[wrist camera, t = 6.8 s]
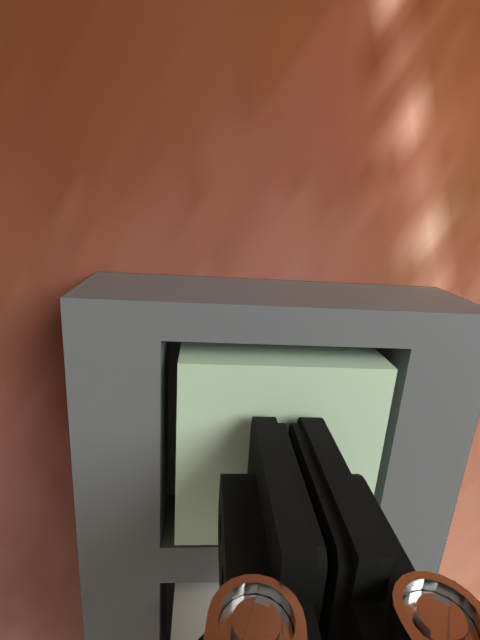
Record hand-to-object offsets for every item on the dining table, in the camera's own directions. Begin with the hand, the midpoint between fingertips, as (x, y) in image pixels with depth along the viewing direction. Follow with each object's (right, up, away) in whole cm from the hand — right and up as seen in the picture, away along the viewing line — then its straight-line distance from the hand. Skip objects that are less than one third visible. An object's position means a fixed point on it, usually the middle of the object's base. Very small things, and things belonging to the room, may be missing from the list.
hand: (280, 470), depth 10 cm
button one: (0, +1, +2) cm, 2 cm away
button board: (-1, -6, +5) cm, 8 cm away
